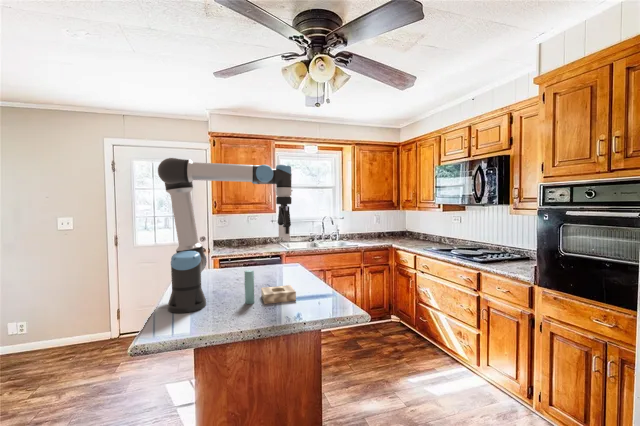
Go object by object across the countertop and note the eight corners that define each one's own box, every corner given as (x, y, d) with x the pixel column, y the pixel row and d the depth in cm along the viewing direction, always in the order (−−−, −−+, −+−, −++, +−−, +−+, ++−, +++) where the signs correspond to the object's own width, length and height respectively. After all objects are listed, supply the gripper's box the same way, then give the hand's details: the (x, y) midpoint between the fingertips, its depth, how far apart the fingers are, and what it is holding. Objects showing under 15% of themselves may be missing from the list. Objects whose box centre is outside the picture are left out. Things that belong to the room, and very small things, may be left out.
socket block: (264, 303, 138) (264, 294, 138) (261, 296, 150) (261, 287, 150) (295, 300, 142) (295, 291, 142) (290, 293, 154) (290, 285, 154)
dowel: (245, 304, 138) (244, 272, 137) (244, 301, 142) (244, 270, 141) (254, 303, 139) (254, 271, 139) (254, 300, 143) (253, 270, 142)
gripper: (297, 195, 146) (297, 241, 147) (286, 196, 170) (286, 236, 170) (281, 195, 144) (281, 242, 144) (272, 196, 167) (272, 236, 168)
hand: (283, 239), depth 157 cm, fingers open, 13 cm apart
